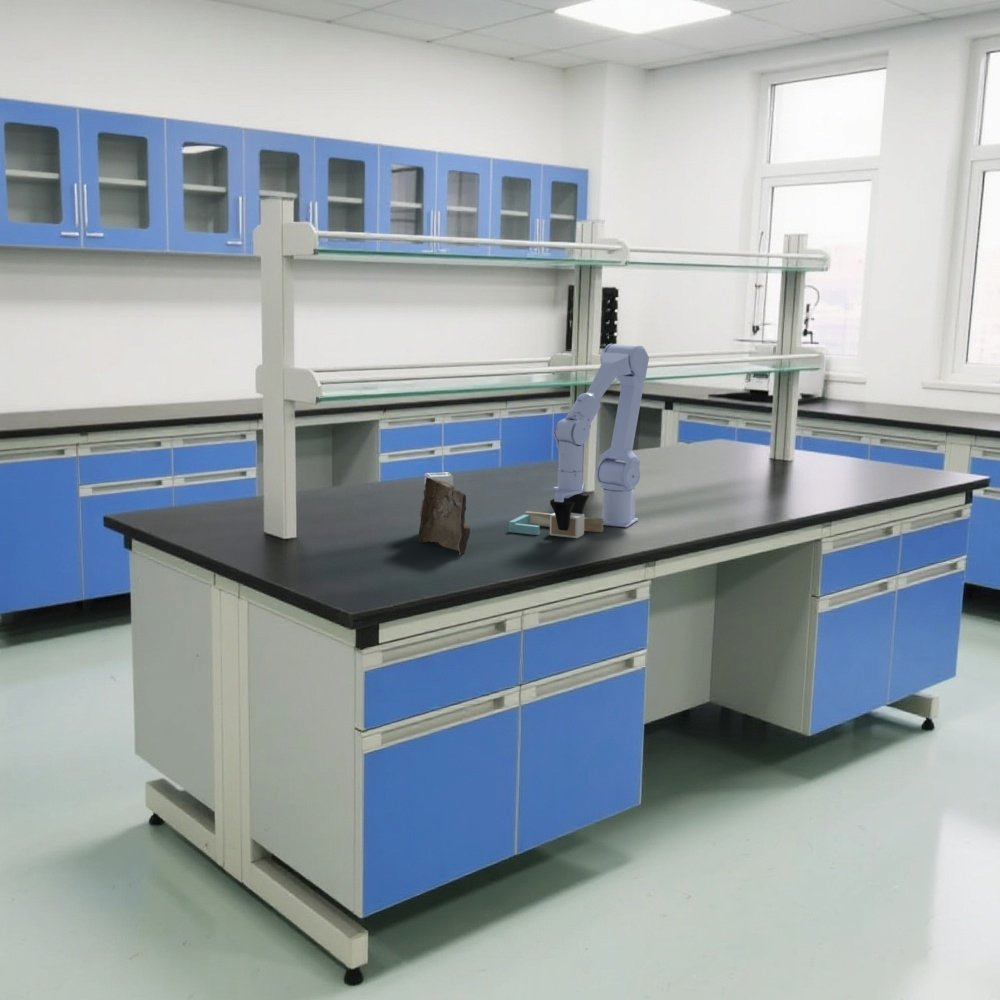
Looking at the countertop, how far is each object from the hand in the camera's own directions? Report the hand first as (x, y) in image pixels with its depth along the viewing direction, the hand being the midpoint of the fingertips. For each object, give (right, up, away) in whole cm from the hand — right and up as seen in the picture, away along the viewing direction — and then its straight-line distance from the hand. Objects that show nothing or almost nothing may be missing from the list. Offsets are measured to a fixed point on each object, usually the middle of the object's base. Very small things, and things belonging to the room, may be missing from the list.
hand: (569, 526), depth 262 cm
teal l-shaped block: (-9, -1, +5) cm, 10 cm away
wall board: (-1, 0, +8) cm, 8 cm away
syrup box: (-31, -2, 0) cm, 31 cm away
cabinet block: (0, -2, +1) cm, 2 cm away
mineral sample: (-29, -5, -14) cm, 32 cm away
